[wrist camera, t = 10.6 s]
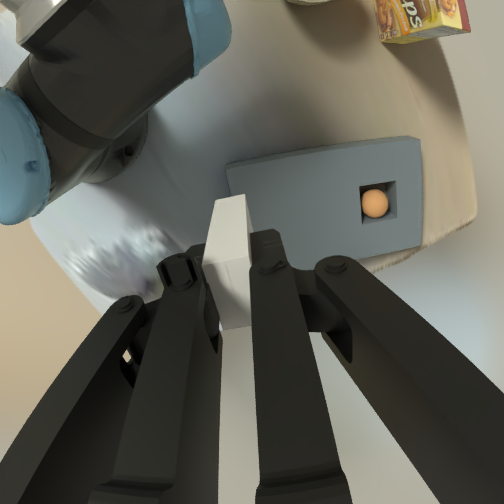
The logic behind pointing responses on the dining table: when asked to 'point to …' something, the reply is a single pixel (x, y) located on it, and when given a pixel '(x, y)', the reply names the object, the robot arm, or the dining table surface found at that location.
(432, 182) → the dining table surface
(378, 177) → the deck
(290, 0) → the tan round bowl
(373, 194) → the ball
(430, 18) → the candy box
